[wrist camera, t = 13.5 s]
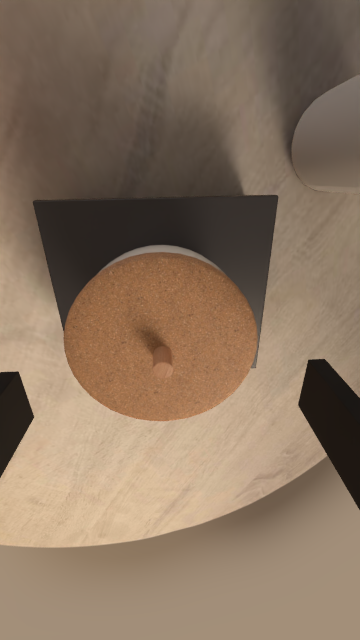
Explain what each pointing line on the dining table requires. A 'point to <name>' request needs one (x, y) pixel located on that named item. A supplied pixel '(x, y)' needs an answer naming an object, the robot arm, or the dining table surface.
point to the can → (330, 141)
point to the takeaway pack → (158, 238)
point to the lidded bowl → (160, 334)
